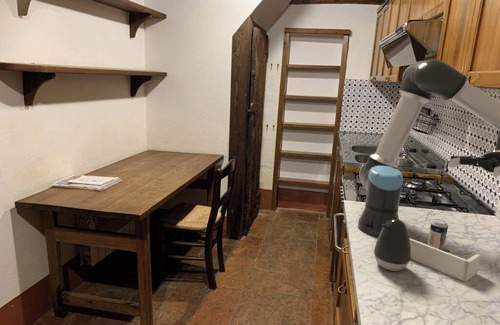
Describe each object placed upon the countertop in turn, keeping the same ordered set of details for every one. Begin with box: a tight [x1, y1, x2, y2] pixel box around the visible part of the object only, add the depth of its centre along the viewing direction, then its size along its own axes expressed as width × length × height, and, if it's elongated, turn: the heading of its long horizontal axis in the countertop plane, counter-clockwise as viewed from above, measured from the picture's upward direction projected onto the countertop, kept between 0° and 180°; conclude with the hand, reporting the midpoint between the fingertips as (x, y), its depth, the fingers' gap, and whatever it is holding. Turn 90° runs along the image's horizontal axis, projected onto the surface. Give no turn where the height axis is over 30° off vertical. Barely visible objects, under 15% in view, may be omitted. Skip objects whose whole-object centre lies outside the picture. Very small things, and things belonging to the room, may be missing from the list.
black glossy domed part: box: [373, 218, 411, 272], centre depth 106 cm, size 10×10×15 cm
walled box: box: [409, 237, 481, 282], centre depth 113 cm, size 11×24×6 cm, turn 38°
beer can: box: [427, 218, 449, 251], centre depth 113 cm, size 5×5×12 cm
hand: (471, 167), depth 118 cm, fingers open, 13 cm apart
